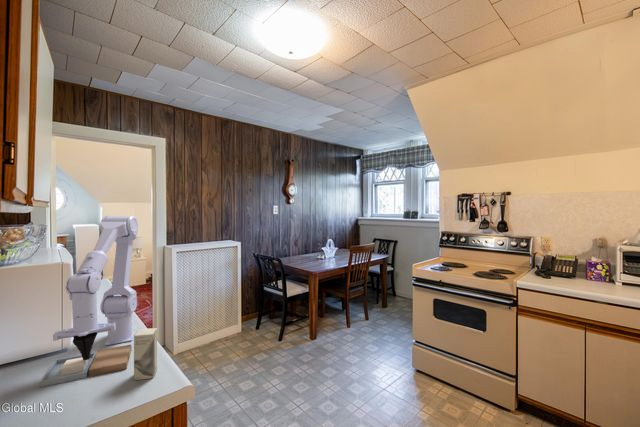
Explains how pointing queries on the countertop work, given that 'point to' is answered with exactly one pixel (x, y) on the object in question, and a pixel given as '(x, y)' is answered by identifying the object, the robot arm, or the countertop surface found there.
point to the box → (145, 353)
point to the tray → (55, 376)
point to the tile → (73, 366)
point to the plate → (110, 360)
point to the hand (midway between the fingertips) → (86, 358)
